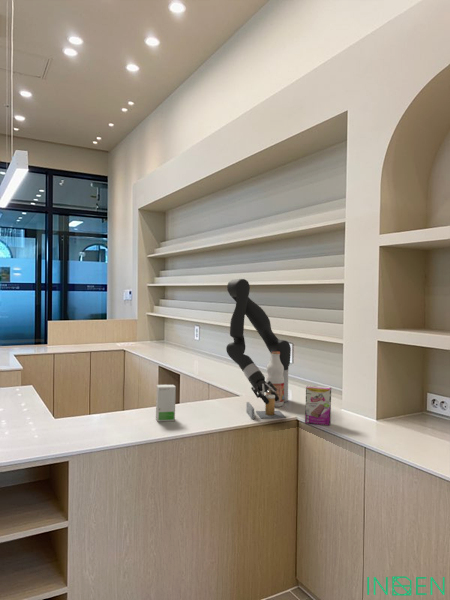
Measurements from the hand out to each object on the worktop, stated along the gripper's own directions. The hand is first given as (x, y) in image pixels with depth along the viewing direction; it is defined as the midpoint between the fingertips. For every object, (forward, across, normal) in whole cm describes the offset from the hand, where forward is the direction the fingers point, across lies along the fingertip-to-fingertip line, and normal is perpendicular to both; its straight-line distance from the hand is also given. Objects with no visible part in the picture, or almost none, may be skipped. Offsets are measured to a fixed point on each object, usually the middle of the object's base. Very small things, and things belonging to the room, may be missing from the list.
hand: (272, 401), depth 213 cm
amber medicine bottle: (+3, 0, +5) cm, 6 cm away
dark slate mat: (+4, 0, +6) cm, 7 cm away
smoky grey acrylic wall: (-1, -8, +10) cm, 13 cm away
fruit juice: (-3, +18, +12) cm, 22 cm away
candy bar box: (+21, +3, -11) cm, 24 cm away
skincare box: (-18, -39, +28) cm, 51 cm away
